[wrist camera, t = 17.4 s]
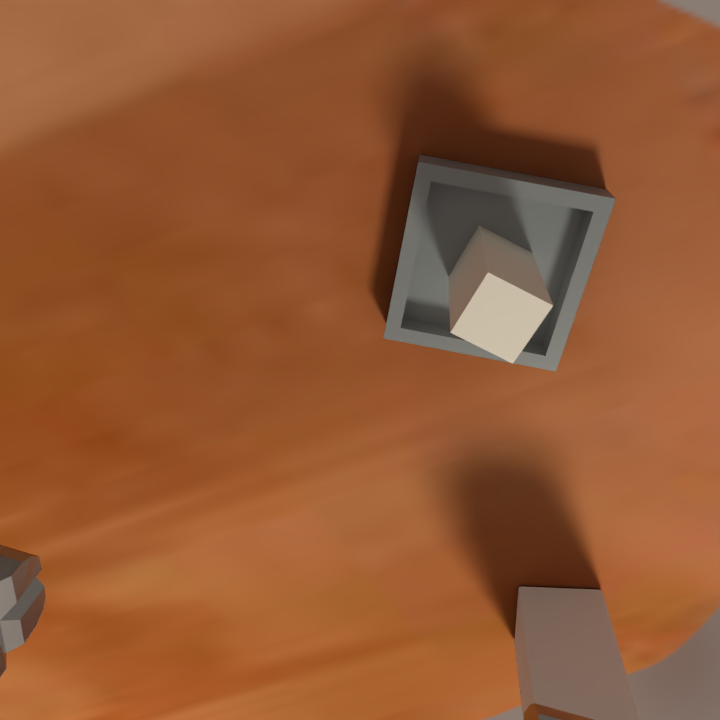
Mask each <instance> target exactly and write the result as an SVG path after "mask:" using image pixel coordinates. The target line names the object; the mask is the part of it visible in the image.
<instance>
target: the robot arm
mask: <svg viewBox="0 0 720 720" xmlns="http://www.w3.org/2000/svg"><path fill="white" fill-rule="evenodd" d="M41 570H42V568H41V564H40V559H39V556H36V555H33V554H29V553H26V552H23V551H19V550H16V549H13V548H9V547H6V546H2V545H0V677H1V675H2V674H3V673H4V671H5V670H6V653H7V652H9V651H11V650H13V649H15V648H16V647H18V646H20V645H22V644H24V643H25V642H26V640H27V639H28V637H29V636H30V634H31V633H32V631H33V630H34V628H35V627H36V625H37V622H38V620H39V618H40V616H41V613H42V611H43V609H44V603H45V597H46V596H45V588H44V586H43V584H42V583H41V582H40V581H39V580H38V579H37V578H36V576H37V575H38V574H39V572H40V571H41ZM524 720H594V719H590V718H586V717H583V716H579V715H576V714H572V713H568V712H565V711H561V710H557V709H554V708H550V707H547V706H543V705H539V704H536V703H533V704H530V705H529V706H528V708H527V710H526V711H525V713H524Z"/></svg>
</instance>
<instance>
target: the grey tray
mask: <svg viewBox="0 0 720 720" xmlns="http://www.w3.org/2000/svg"><path fill="white" fill-rule="evenodd" d="M615 199H616V198H615V197H614V196H613V195H612V194H611V193H610V192H609V191H608V190H607V189H603V188H597V187H592V186H587V185H581V184H576V183H570V182H565V181H560V180H554V179H549V178H544V177H538V176H533V175H527V174H522V173H517V172H511V171H506V170H500V169H495V168H490V167H484V166H479V165H474V164H468V163H463V162H457V161H452V160H447V159H441V158H436V157H431V156H425V155H420V154H419V159H418V164H417V169H416V174H415V179H414V185H413V190H412V195H411V200H410V205H409V210H408V215H407V220H406V225H405V230H404V235H403V240H402V245H401V251H400V256H399V261H398V266H397V271H396V276H395V281H394V286H393V291H392V296H391V301H390V306H389V311H388V317H387V322H386V327H385V333H384V338H385V339H390V340H395V341H400V342H406V343H411V344H416V345H421V346H426V347H432V348H437V349H442V350H447V351H452V352H458V353H463V354H468V355H473V356H478V357H484V358H489V359H494V360H499V361H504V362H508V361H506V360H504V359H502V358H500V357H498V356H496V355H494V354H492V353H490V352H488V351H486V350H484V349H482V348H480V347H478V346H476V345H474V344H472V343H470V342H468V341H466V340H464V339H462V338H460V337H458V336H456V335H454V334H452V333H450V308H449V278H448V277H449V275H450V273H451V272H452V270H453V268H454V267H455V265H456V263H457V261H458V260H459V258H460V256H461V255H462V253H463V251H464V250H465V248H466V246H467V245H468V243H469V241H470V240H471V238H472V236H473V234H474V233H475V231H476V229H477V228H478V226H479V225H480V226H482V227H483V228H485V229H487V230H489V231H491V232H493V233H495V234H497V235H499V236H501V237H503V238H505V239H506V240H508V241H510V242H512V243H514V244H516V245H518V246H520V247H522V248H524V249H526V250H528V251H529V252H531V253H533V256H534V258H535V261H536V263H537V266H538V269H539V271H540V274H541V276H542V279H543V281H544V284H545V286H546V289H547V291H548V294H549V296H550V299H551V301H552V304H553V307H552V308H551V310H550V311H549V313H548V314H547V316H546V317H545V318H544V320H543V321H542V323H541V324H540V326H539V327H538V328H537V330H536V331H535V333H534V334H533V336H532V337H531V338H530V340H529V341H528V343H527V344H526V346H525V347H524V349H523V350H522V351H521V353H520V354H519V356H518V357H517V359H516V360H515V361H514V363H515V364H520V365H525V366H530V367H536V368H541V369H546V370H551V371H556V369H557V367H558V364H559V361H560V358H561V355H562V352H563V349H564V346H565V344H566V341H567V338H568V335H569V332H570V329H571V326H572V323H573V320H574V318H575V315H576V312H577V309H578V306H579V303H580V300H581V297H582V294H583V292H584V289H585V286H586V283H587V280H588V277H589V274H590V271H591V268H592V266H593V263H594V260H595V257H596V254H597V251H598V248H599V245H600V243H601V240H602V237H603V234H604V231H605V228H606V225H607V222H608V219H609V217H610V214H611V211H612V208H613V205H614V202H615Z"/></svg>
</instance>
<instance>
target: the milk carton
mask: <svg viewBox="0 0 720 720" xmlns="http://www.w3.org/2000/svg"><path fill="white" fill-rule="evenodd" d="M514 644H515V653H516V661H517V669H518V678H519V686H520V695H521V703H522V711H523V720H524V713H525V711H526V710H527V708H528V706H529V705H530V704H533V703H536V704H539V705H543V706H547V707H550V708H554V709H557V710H561V711H565V712H568V713H572V714H576V715H579V716H583V717H586V718H590V719H594V720H639V718H638V714H637V711H636V707H635V704H634V700H633V697H632V693H631V690H630V687H629V683H628V679H627V676H626V672H625V669H624V665H623V662H622V658H621V655H620V651H619V648H618V644H617V641H616V637H615V633H614V630H613V626H612V623H611V619H610V616H609V612H608V609H607V605H606V602H605V598H604V595H603V592H602V591H601V590H594V589H571V588H546V587H519V588H518V601H517V615H516V628H515V641H514Z"/></svg>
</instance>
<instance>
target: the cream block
mask: <svg viewBox="0 0 720 720" xmlns="http://www.w3.org/2000/svg"><path fill="white" fill-rule="evenodd" d="M448 278H449V308H450V333H452V334H454V335H456V336H458V337H460V338H462V339H464V340H466V341H468V342H470V343H472V344H474V345H476V346H478V347H480V348H482V349H484V350H486V351H488V352H490V353H492V354H494V355H496V356H498V357H500V358H502V359H504V360H506V361H508V362H510V363H512V364H513V363H514V361H515V360H516V359H517V357H518V356H519V354H520V353H521V351H522V350H523V349H524V347H525V346H526V344H527V343H528V341H529V340H530V338H531V337H532V336H533V334H534V333H535V331H536V330H537V328H538V327H539V326H540V324H541V323H542V321H543V320H544V318H545V317H546V316H547V314H548V313H549V311H550V310H551V308H552V307H553V304H552V301H551V299H550V296H549V294H548V291H547V289H546V286H545V284H544V281H543V279H542V276H541V274H540V271H539V269H538V266H537V263H536V261H535V258H534V256H533V253H531V252H529V251H528V250H526V249H524V248H522V247H520V246H518V245H516V244H514V243H512V242H510V241H508V240H506V239H505V238H503V237H501V236H499V235H497V234H495V233H493V232H491V231H489V230H487V229H485V228H483V227H482V226H480V225H479V226H478V228H477V229H476V231H475V233H474V234H473V236H472V238H471V240H470V241H469V243H468V245H467V246H466V248H465V250H464V251H463V253H462V255H461V256H460V258H459V260H458V261H457V263H456V265H455V267H454V268H453V270H452V272H451V273H450V275H449V277H448Z"/></svg>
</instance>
